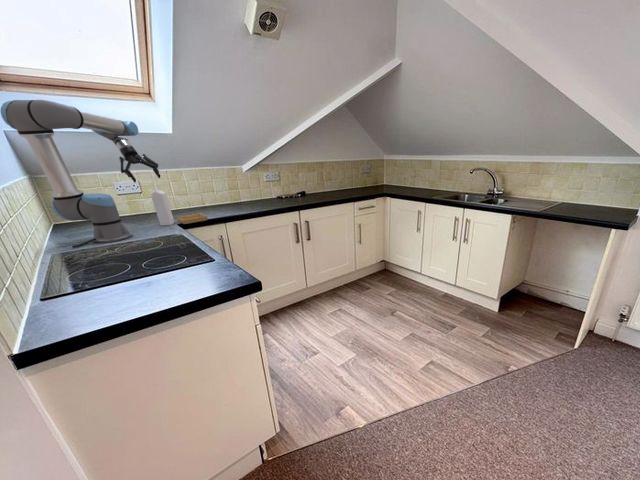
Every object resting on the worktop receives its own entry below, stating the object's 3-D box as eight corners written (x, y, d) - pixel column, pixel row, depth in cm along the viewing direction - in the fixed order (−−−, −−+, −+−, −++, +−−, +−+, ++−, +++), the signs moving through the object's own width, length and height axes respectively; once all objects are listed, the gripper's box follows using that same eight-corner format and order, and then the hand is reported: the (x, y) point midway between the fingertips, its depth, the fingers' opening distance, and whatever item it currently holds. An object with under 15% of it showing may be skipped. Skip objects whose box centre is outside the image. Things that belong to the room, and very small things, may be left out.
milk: (160, 225, 184) (148, 189, 175) (164, 223, 189) (153, 187, 180) (171, 225, 185) (159, 188, 176) (174, 222, 190) (164, 187, 181)
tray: (184, 224, 186) (182, 220, 185) (177, 221, 194) (176, 217, 193) (207, 220, 195) (206, 216, 194) (200, 217, 204) (199, 213, 203)
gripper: (149, 151, 192) (168, 178, 192) (102, 157, 174) (124, 186, 174) (150, 143, 186) (169, 171, 187) (102, 148, 169) (124, 178, 169)
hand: (147, 179), depth 180 cm, fingers open, 13 cm apart
